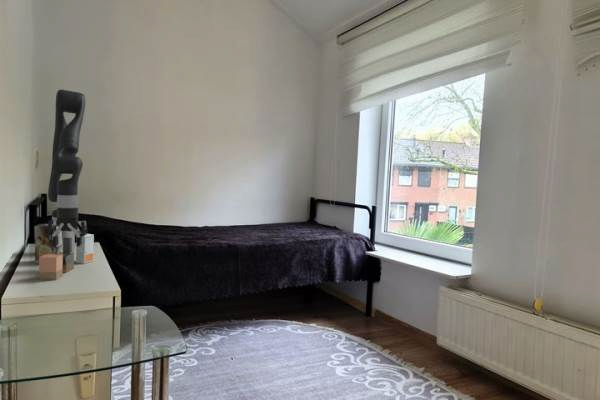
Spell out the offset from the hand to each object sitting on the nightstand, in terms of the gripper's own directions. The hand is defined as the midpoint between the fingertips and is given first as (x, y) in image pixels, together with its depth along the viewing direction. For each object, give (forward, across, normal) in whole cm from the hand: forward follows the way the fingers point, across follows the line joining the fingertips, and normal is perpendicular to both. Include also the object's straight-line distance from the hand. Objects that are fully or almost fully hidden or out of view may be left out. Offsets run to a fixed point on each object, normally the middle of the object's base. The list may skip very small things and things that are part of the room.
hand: (67, 245), depth 176 cm
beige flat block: (+5, 0, -4) cm, 6 cm away
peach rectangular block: (+9, 0, -14) cm, 17 cm away
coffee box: (+10, -12, +10) cm, 18 cm away
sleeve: (+9, 0, -3) cm, 10 cm away
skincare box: (+10, +2, +12) cm, 15 cm away
